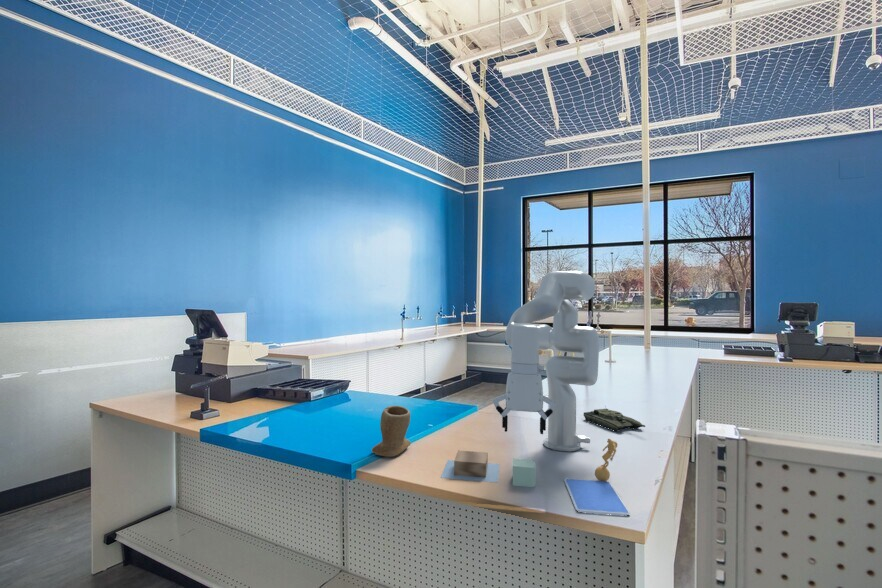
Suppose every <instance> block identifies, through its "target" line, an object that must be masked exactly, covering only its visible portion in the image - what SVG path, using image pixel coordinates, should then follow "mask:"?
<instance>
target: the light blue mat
mask: <svg viewBox="0 0 882 588" xmlns="http://www.w3.org/2000/svg"><path fill="white" fill-rule="evenodd" d="M454 460H455V459H453V460H452V459H447V461H446V464H445V466H444V468H443V471H442V473H441V476H440V478H441V479H452V480H464V481H474V482H475V481H476V482H487V483H488V482H489V483H496V484H497V483H499V475H500V463H494V462H493V463H492V462H488V467H487V473H486V478H483V477H471V476H458V475H454Z"/></svg>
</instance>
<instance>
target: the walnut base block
mask: <svg viewBox="0 0 882 588" xmlns="http://www.w3.org/2000/svg"><path fill="white" fill-rule="evenodd" d="M488 457H489V455H488V452H486V451H485V452H483V451H471V450H469V451H468V450H460V449H459V450H457V452H456V455H455V457H454V459H453V460H454V475H458V476H471V477H483V478H486V473H487V467H488V463H489V461H488V460H489V458H488Z"/></svg>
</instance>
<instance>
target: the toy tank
mask: <svg viewBox="0 0 882 588" xmlns="http://www.w3.org/2000/svg"><path fill="white" fill-rule="evenodd" d="M604 406H605V407H604V408H598V409H593V410H591V411H586V412H583V417H584V418H585V420H586V421H587V422H588V421H590V422H589V423H591V422H593V423H595V424H594V425H596V424H598V425H597V426H599V425H601V426H603V427H602V428H604V427H606V428H609V429H612V430H614V431H613V432H618V431H617V430H620V431H621V430H625V429H631V428H638V429H639V428H645V427H646V425H645V424H642V423H641V422H640V421H639V420H636V419H635V418H633V417H629V416H626V415H623V413H622V412H620V411H617V410H612V409H609V408H607V406H606V405H604ZM593 423H592V424H593ZM601 426H600V427H601ZM606 428H605V429H606ZM609 429H608V430H609ZM612 430H611V431H612Z"/></svg>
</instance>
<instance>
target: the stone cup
mask: <svg viewBox="0 0 882 588" xmlns="http://www.w3.org/2000/svg"><path fill="white" fill-rule="evenodd" d="M380 416H381V417H380V427H379V428H380V432H381V440H382V441H380V442H378V443H377V444H375V446H373V447H372V448H371V452H373V454H374V453H375V455H377V456H381V457H389V458H390V457H396V456H398V455H400V454H401V453H403V452H404V451H405V450H406V449H408V447H409V446H411V444H412V442H411V441H410V439H407V437H406V435H407V432H408V429H409V427H410V423H411V411H410V410H409V409H408V408H406V406H405V407H404V406H401V405H389V406H387V407H385V408H384V409H383V410H382V412H381V415H380Z"/></svg>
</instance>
